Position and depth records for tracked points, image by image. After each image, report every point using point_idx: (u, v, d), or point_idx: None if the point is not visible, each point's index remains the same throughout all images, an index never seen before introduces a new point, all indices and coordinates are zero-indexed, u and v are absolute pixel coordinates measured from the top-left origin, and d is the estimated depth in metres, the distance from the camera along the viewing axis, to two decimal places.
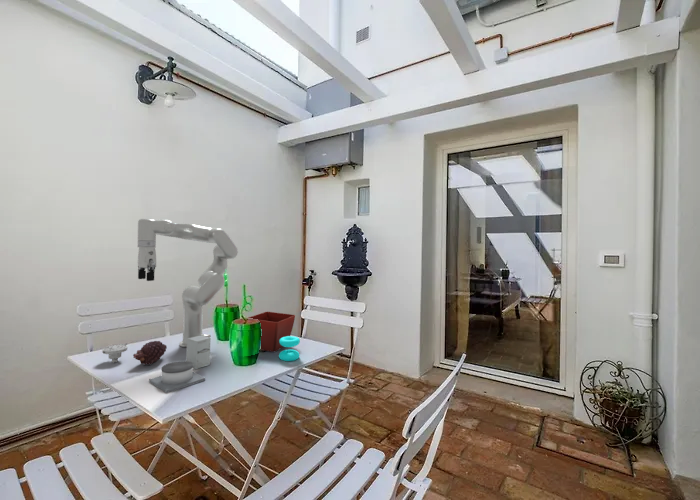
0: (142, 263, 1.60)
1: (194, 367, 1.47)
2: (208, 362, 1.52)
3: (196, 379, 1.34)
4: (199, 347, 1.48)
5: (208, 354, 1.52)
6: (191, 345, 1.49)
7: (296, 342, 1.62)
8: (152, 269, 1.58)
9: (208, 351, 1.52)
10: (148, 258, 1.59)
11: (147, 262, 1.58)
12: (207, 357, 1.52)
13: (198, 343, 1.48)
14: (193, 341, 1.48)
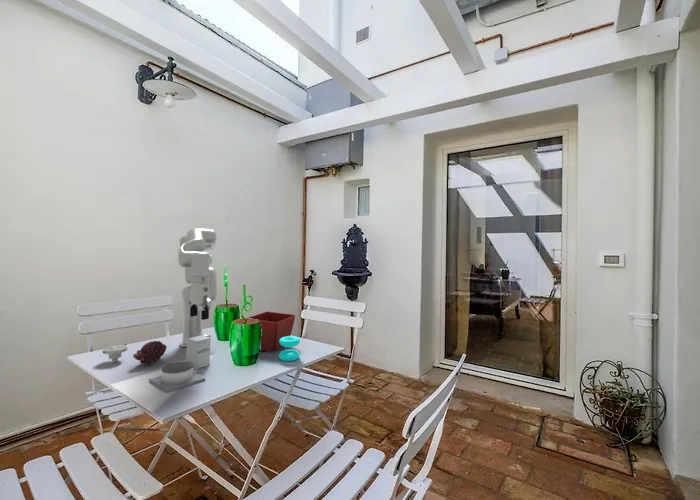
0: (196, 300, 1.48)
1: (194, 367, 1.47)
2: (208, 362, 1.52)
3: (196, 379, 1.34)
4: (199, 347, 1.48)
5: (208, 354, 1.52)
6: (191, 345, 1.49)
7: (296, 342, 1.62)
8: (207, 307, 1.47)
9: (208, 351, 1.52)
10: (203, 295, 1.47)
11: (202, 299, 1.47)
12: (207, 357, 1.52)
13: (198, 343, 1.48)
14: (193, 341, 1.48)
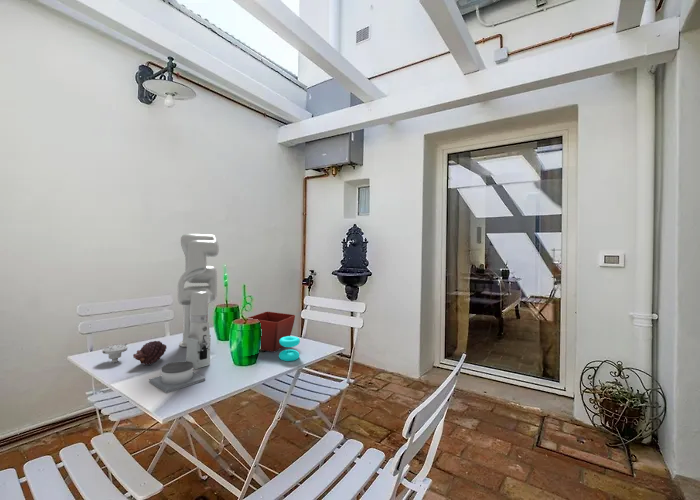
0: (195, 339, 1.49)
1: (194, 367, 1.47)
2: (208, 362, 1.52)
3: (196, 379, 1.34)
4: (199, 347, 1.48)
5: (208, 354, 1.52)
6: (191, 345, 1.49)
7: (296, 342, 1.62)
8: (206, 347, 1.48)
9: (208, 351, 1.52)
10: (202, 335, 1.48)
11: (201, 340, 1.48)
12: (207, 357, 1.52)
13: (198, 343, 1.48)
14: (193, 341, 1.48)
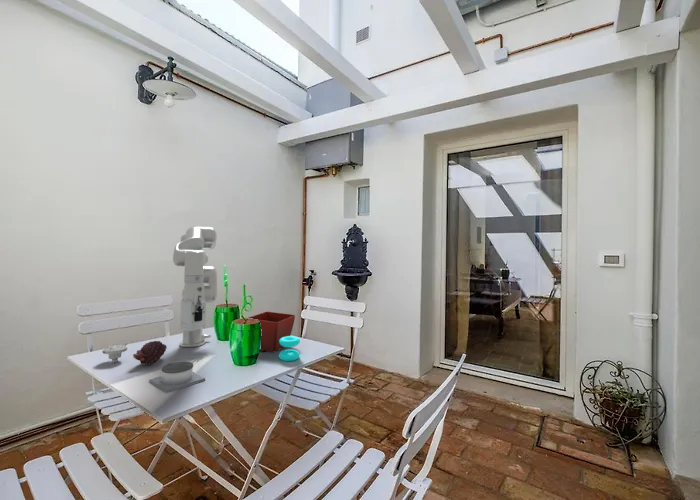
0: (190, 300, 1.43)
1: (189, 329, 1.41)
2: (203, 325, 1.46)
3: (196, 379, 1.34)
4: (194, 308, 1.42)
5: (203, 316, 1.46)
6: (185, 306, 1.42)
7: (296, 342, 1.62)
8: (201, 308, 1.42)
9: (203, 313, 1.46)
10: (197, 295, 1.42)
11: (196, 301, 1.41)
12: (202, 319, 1.46)
13: None
14: (187, 302, 1.42)
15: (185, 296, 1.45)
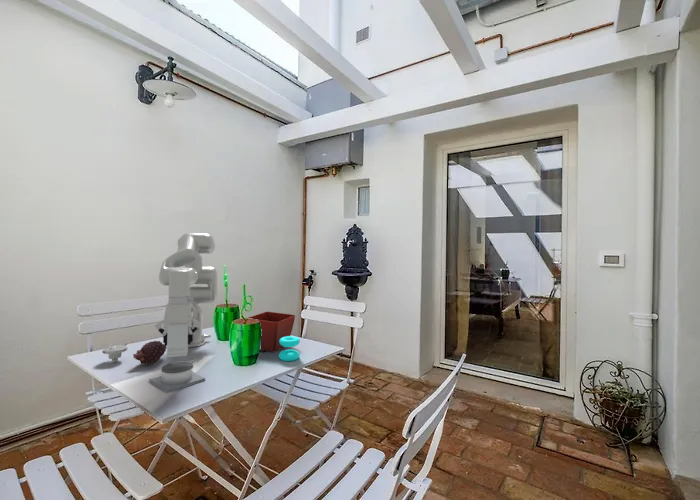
0: None
1: (184, 353, 1.32)
2: None
3: (196, 379, 1.34)
4: None
5: None
6: (178, 331, 1.31)
7: (296, 342, 1.62)
8: (196, 329, 1.36)
9: None
10: (191, 316, 1.35)
11: (191, 322, 1.34)
12: None
13: None
14: (181, 325, 1.32)
15: (170, 320, 1.31)
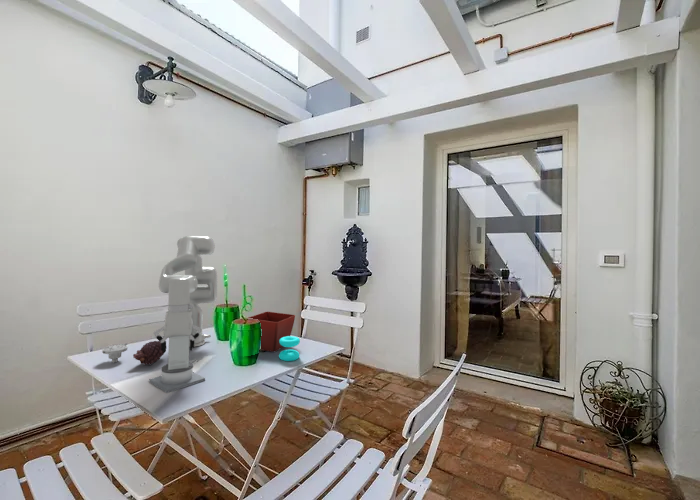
0: (182, 331, 1.33)
1: (186, 366, 1.33)
2: None
3: (196, 379, 1.34)
4: None
5: None
6: (179, 343, 1.32)
7: (296, 342, 1.62)
8: (198, 335, 1.37)
9: None
10: (191, 324, 1.35)
11: (192, 329, 1.35)
12: None
13: None
14: (183, 338, 1.32)
15: (171, 328, 1.31)
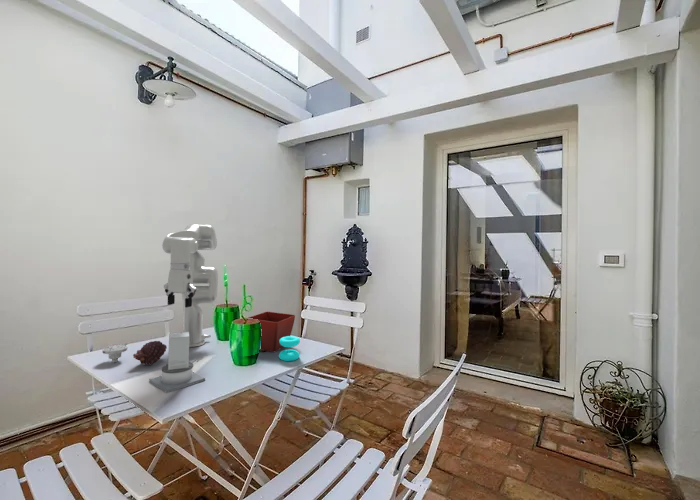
0: (178, 288, 1.44)
1: (186, 366, 1.33)
2: None
3: (196, 379, 1.34)
4: None
5: None
6: (179, 343, 1.32)
7: (296, 342, 1.62)
8: (192, 294, 1.44)
9: None
10: (187, 282, 1.44)
11: (186, 287, 1.44)
12: None
13: None
14: (183, 338, 1.32)
15: (171, 284, 1.45)
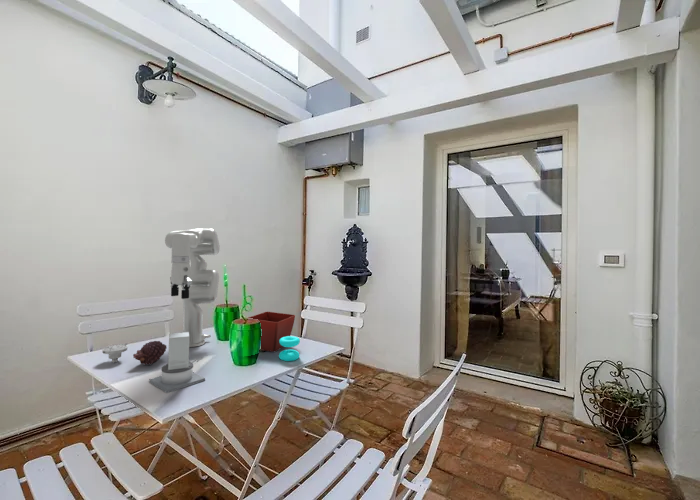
0: (176, 280, 1.51)
1: (186, 366, 1.33)
2: None
3: (196, 379, 1.34)
4: None
5: None
6: (179, 343, 1.32)
7: (296, 342, 1.62)
8: (187, 286, 1.50)
9: None
10: (183, 275, 1.50)
11: (182, 279, 1.50)
12: None
13: None
14: (183, 338, 1.32)
15: (172, 276, 1.54)
